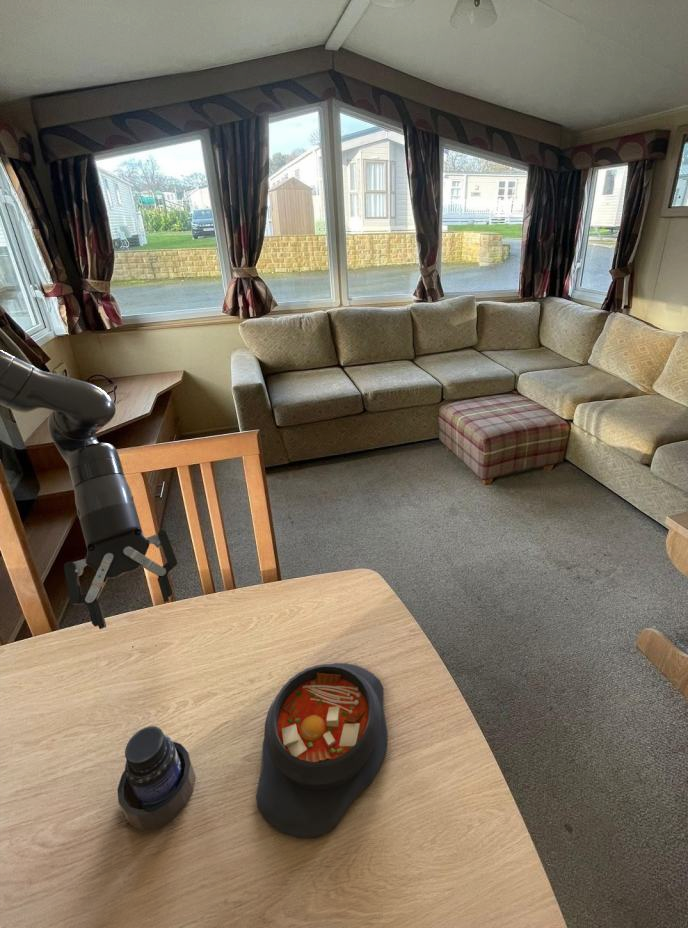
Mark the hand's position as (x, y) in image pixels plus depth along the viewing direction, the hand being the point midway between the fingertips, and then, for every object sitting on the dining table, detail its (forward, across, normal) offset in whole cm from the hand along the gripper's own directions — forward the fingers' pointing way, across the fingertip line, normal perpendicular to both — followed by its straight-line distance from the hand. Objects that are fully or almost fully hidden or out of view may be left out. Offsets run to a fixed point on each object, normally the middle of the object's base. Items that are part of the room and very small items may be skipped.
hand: (135, 614), depth 70 cm
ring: (+24, +3, -5) cm, 25 cm away
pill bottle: (+24, +3, -5) cm, 24 cm away
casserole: (+29, -20, -1) cm, 35 cm away
